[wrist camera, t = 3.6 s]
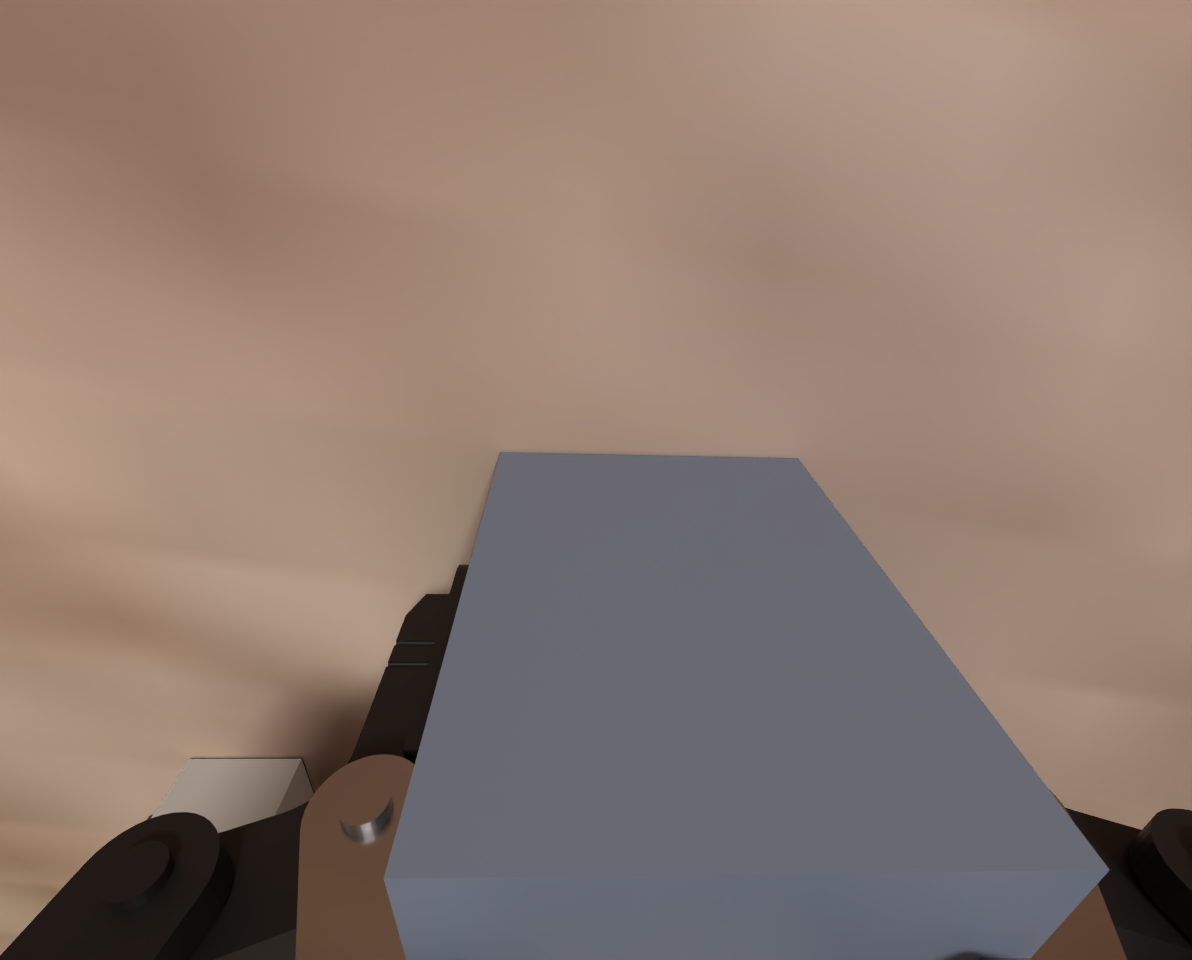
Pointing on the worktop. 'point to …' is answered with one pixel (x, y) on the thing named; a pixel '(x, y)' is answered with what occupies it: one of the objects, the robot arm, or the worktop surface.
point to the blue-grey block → (710, 741)
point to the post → (237, 790)
